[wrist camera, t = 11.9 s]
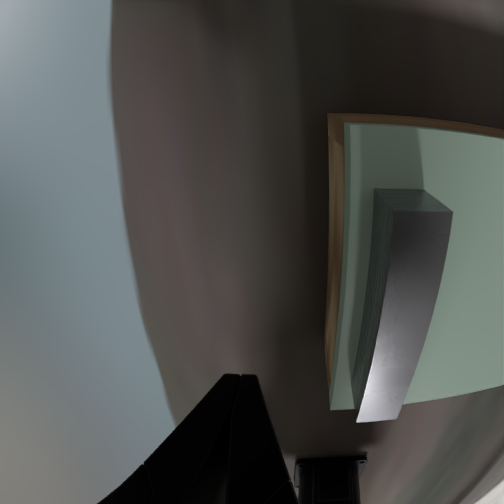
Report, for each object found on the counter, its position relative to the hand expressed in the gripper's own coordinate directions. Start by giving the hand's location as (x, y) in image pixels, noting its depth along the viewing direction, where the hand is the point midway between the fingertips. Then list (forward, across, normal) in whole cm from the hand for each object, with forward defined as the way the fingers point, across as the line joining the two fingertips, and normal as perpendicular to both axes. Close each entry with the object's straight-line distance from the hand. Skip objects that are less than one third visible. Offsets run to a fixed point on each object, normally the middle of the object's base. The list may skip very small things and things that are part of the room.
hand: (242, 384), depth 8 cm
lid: (+4, -11, 0) cm, 12 cm away
